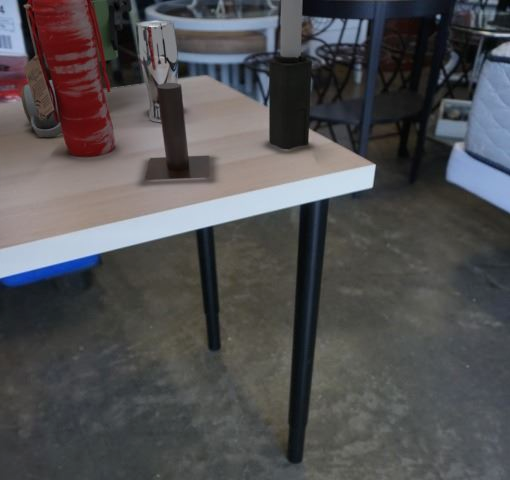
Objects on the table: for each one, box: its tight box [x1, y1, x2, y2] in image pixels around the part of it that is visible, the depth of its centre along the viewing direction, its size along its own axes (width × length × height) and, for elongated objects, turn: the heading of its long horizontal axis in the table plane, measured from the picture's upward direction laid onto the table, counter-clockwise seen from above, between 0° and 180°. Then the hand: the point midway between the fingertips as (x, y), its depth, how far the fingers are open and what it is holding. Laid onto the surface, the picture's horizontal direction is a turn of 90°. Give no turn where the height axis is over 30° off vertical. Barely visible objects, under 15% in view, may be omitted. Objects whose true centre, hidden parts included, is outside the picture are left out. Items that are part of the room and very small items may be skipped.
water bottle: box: [23, 0, 116, 158], centre depth 76 cm, size 12×8×25 cm, turn 98°
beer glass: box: [134, 19, 179, 123], centre depth 96 cm, size 7×7×15 cm
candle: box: [268, 0, 313, 150], centre depth 77 cm, size 5×5×25 cm
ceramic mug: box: [20, 79, 63, 138], centre depth 94 cm, size 11×8×8 cm
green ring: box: [91, 0, 119, 62], centre depth 98 cm, size 7×7×9 cm
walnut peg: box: [144, 83, 211, 181], centre depth 74 cm, size 9×9×12 cm
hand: (93, 46), depth 96 cm, fingers closed on green ring, 7 cm apart
